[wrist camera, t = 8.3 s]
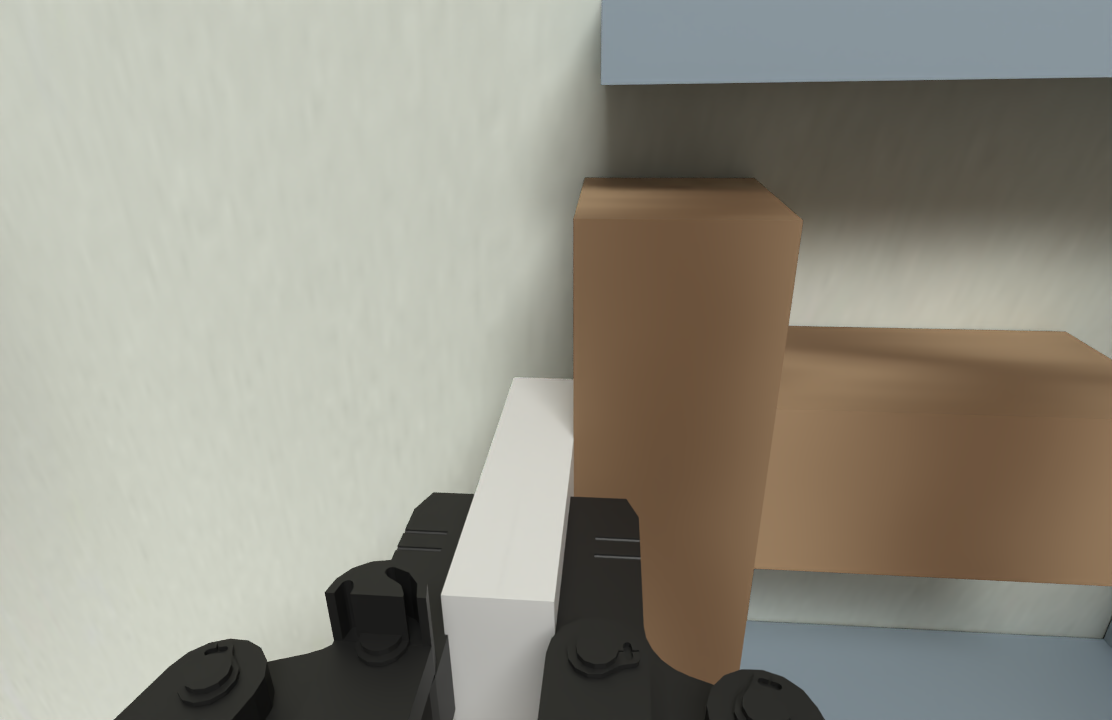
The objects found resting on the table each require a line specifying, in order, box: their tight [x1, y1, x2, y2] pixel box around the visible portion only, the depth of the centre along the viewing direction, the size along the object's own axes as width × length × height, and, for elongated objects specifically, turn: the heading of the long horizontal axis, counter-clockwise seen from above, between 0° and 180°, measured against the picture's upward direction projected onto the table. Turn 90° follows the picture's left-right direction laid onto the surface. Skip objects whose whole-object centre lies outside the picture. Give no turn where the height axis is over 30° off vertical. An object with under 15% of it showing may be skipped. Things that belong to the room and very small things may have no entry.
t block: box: [573, 178, 1112, 685], centre depth 14 cm, size 10×10×4 cm
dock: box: [601, 0, 1112, 720], centre depth 14 cm, size 15×17×3 cm
